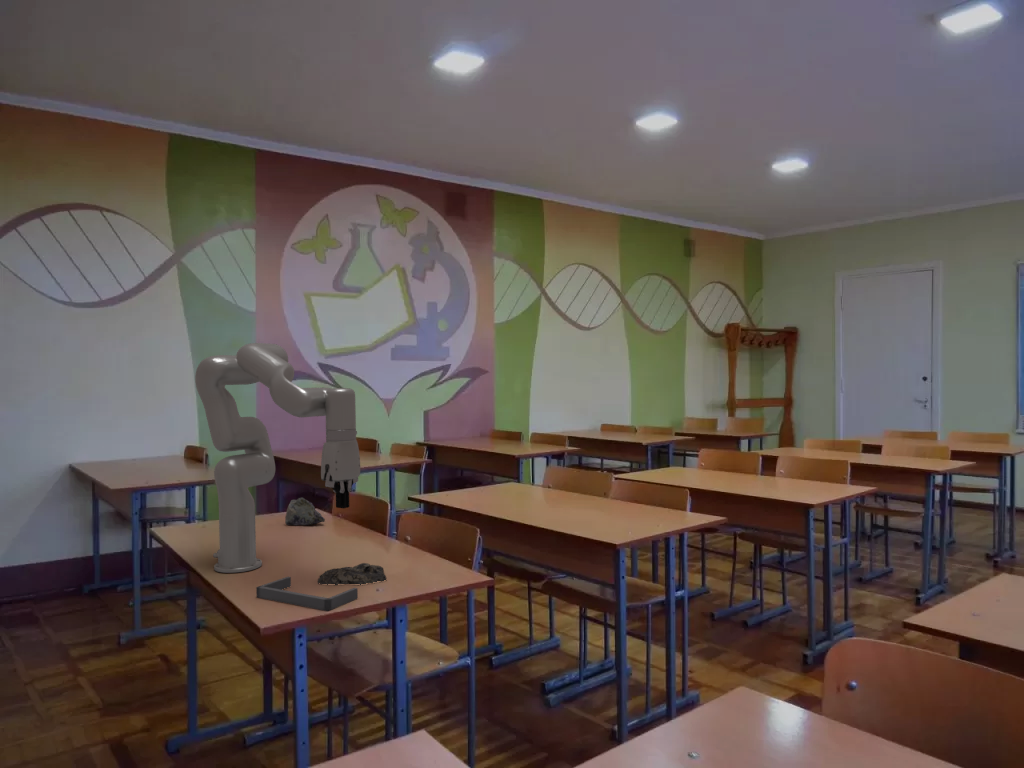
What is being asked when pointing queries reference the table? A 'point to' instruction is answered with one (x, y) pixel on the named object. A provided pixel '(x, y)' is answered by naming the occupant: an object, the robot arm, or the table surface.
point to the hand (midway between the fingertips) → (342, 507)
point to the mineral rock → (302, 513)
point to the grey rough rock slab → (353, 575)
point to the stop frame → (303, 596)
